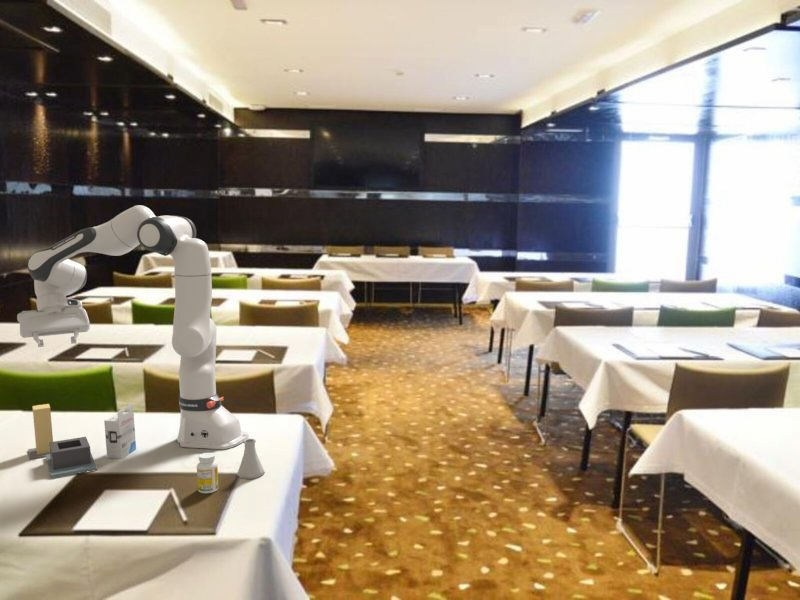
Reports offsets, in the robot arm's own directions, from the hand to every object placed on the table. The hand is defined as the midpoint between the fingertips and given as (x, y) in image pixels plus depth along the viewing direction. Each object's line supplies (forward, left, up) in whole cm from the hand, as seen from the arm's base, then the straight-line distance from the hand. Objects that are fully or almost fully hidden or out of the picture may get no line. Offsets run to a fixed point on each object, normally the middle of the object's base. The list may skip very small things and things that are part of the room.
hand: (57, 344), depth 235 cm
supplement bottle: (-67, +18, -32) cm, 76 cm away
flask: (-72, +5, -32) cm, 78 cm away
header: (-18, +16, -31) cm, 39 cm away
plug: (-3, +11, -31) cm, 33 cm away
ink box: (-26, +4, -32) cm, 41 cm away
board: (-18, +16, -31) cm, 39 cm away
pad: (-3, +11, -31) cm, 33 cm away
